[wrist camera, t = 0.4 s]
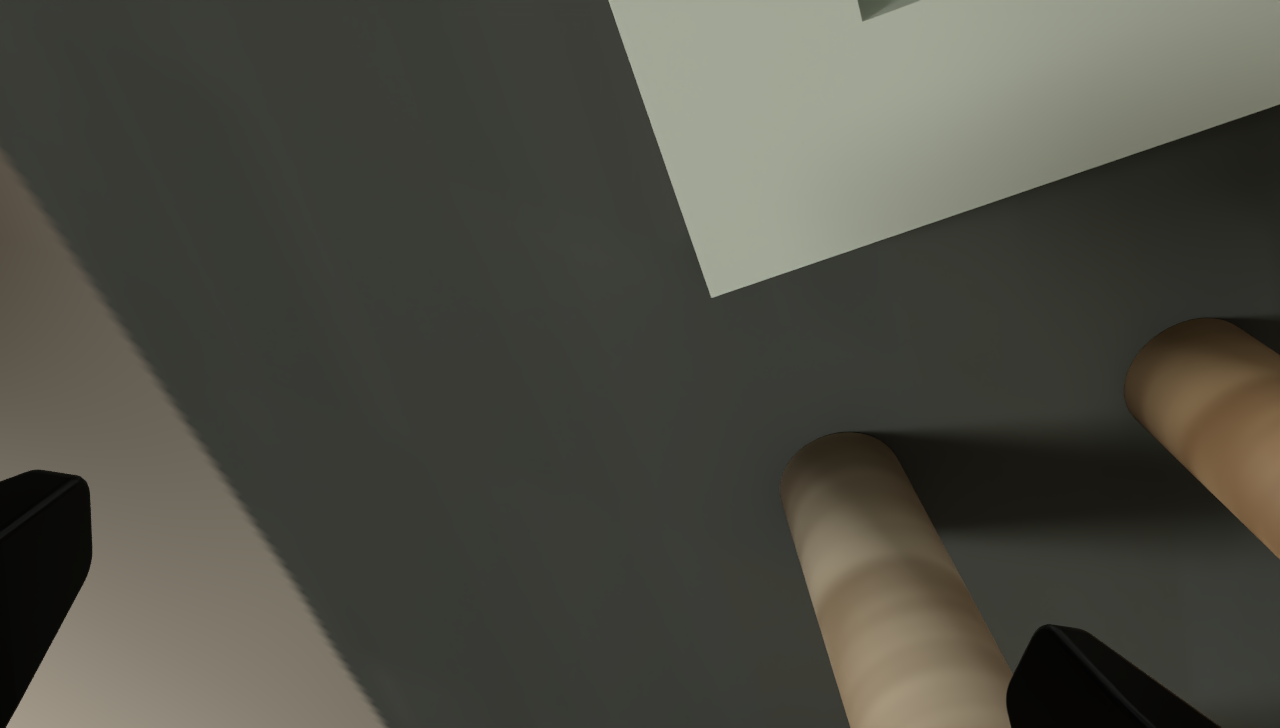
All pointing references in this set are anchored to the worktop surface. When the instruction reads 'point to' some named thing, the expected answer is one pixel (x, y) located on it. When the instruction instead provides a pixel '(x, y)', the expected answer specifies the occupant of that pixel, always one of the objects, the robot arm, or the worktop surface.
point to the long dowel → (888, 593)
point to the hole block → (917, 107)
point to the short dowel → (1216, 414)
